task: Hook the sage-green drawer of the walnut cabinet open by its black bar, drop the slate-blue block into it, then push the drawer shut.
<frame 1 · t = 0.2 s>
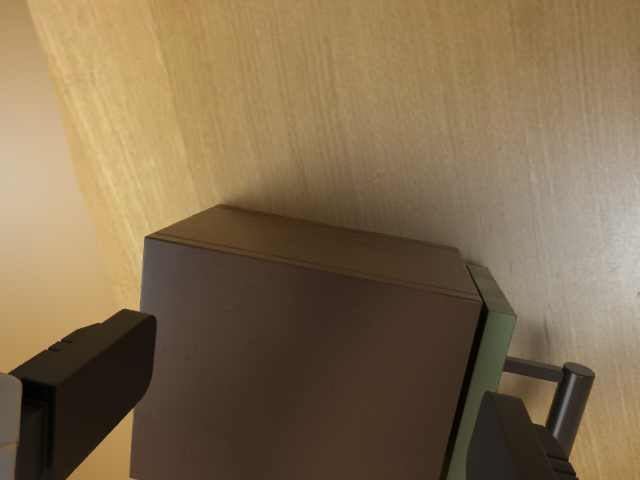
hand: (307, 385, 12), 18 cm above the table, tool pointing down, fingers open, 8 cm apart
drawer: (391, 373, 26), point 5 cm above the table, slide at 0.5 cm
cabinet: (318, 322, 31), on the table
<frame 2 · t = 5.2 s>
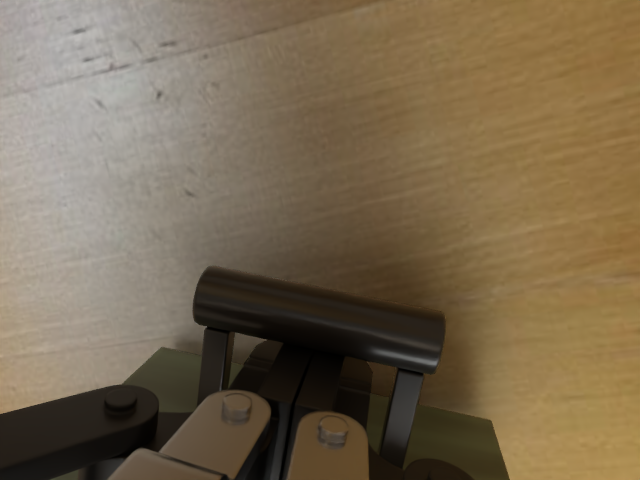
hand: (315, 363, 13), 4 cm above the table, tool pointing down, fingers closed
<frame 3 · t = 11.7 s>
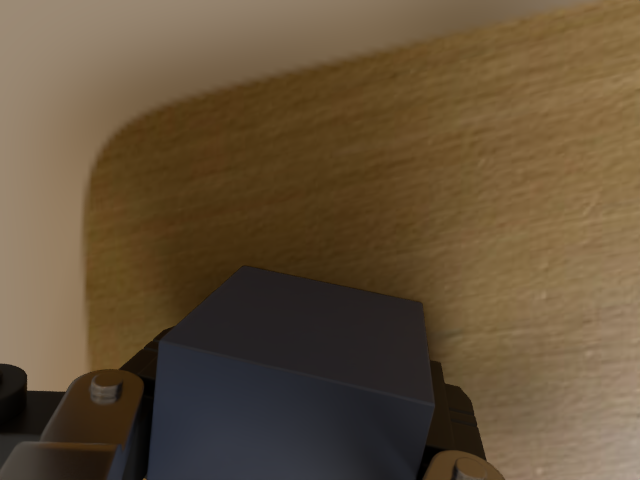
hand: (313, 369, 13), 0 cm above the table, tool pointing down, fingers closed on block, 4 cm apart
block: (316, 365, 13), on the table, touching gripper
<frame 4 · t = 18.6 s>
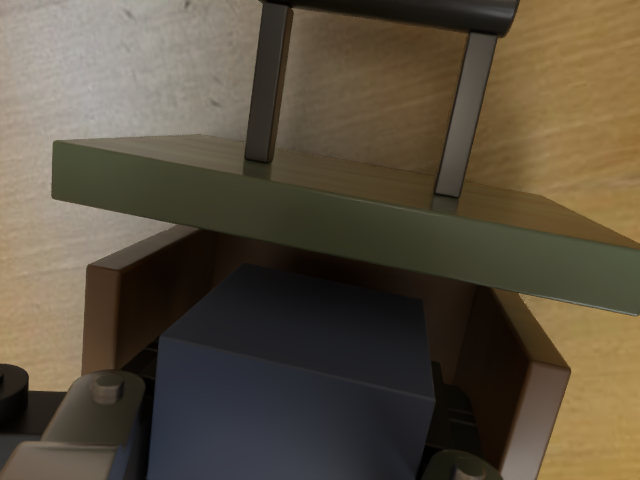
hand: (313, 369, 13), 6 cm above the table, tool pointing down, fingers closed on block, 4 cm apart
block: (316, 362, 13), point 5 cm above the table, touching gripper
drawer: (325, 328, 14), point 5 cm above the table, slide at 8.0 cm
when the fingers open (7 cm above the table, at t = 24.0 s): block stays where it is, resting on drawer.
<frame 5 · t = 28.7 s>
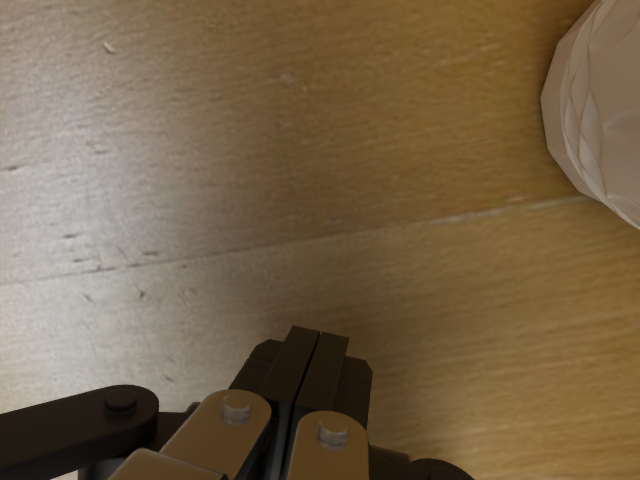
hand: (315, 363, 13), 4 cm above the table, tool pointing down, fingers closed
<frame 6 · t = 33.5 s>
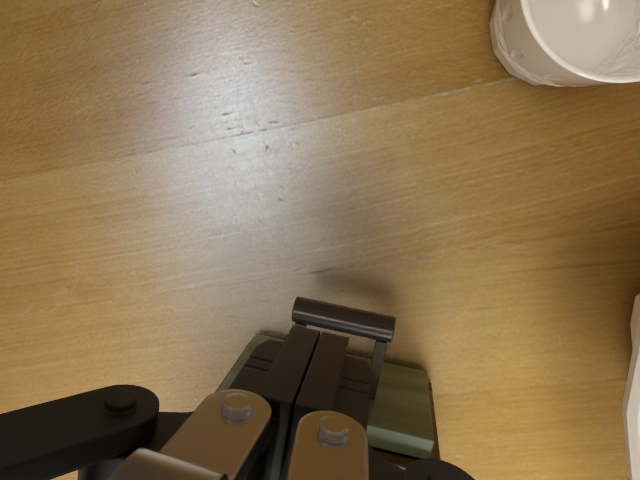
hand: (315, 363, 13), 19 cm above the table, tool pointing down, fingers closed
drawer: (320, 442, 30), point 5 cm above the table, slide at 0.0 cm, touching block, cabinet
cabinet: (321, 453, 35), on the table
white cup: (551, 23, 27), on the table
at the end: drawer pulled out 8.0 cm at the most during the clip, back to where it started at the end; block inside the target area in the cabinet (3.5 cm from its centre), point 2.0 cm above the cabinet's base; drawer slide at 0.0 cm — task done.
